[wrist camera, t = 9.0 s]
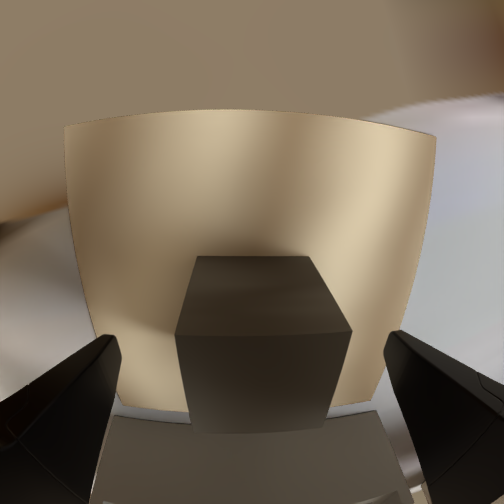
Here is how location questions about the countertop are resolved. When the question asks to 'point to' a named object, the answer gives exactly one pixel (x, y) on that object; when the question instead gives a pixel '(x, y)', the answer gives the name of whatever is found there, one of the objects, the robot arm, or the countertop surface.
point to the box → (250, 465)
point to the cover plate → (247, 257)
